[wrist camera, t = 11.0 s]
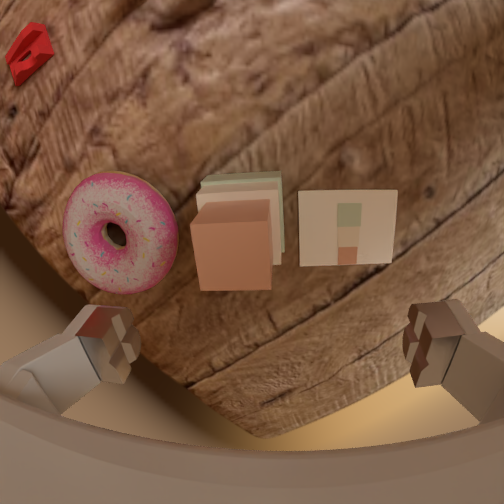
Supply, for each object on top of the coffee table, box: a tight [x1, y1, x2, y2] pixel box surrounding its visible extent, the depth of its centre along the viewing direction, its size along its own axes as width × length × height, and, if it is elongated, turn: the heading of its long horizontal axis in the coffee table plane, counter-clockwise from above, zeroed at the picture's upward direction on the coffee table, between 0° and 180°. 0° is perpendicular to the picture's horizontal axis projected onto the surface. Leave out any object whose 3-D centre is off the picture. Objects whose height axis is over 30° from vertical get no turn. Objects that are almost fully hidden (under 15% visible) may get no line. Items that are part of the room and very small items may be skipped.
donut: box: [63, 171, 179, 294], centre depth 31 cm, size 14×13×5 cm
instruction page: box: [298, 189, 398, 267], centre depth 31 cm, size 10×8×1 cm
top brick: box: [190, 199, 273, 291], centre depth 24 cm, size 5×5×5 cm
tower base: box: [196, 171, 285, 265], centre depth 29 cm, size 7×7×6 cm
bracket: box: [5, 22, 54, 86], centre depth 24 cm, size 6×5×3 cm
